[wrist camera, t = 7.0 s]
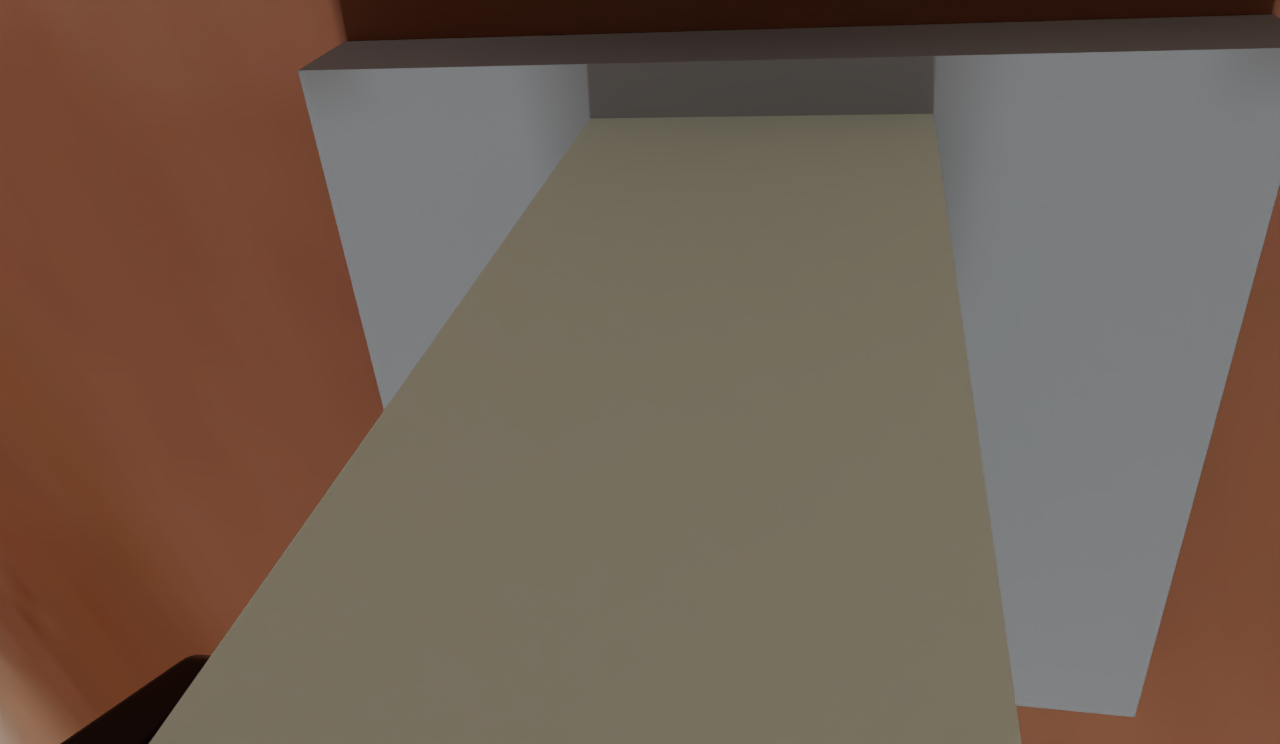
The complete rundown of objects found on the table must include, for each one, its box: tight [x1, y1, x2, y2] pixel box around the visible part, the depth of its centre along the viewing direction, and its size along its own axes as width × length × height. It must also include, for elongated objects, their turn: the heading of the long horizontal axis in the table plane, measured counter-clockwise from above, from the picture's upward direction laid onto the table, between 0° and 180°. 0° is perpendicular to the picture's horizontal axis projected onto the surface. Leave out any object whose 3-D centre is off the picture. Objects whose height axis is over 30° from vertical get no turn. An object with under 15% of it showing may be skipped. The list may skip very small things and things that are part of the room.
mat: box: [298, 14, 1280, 717], centre depth 13 cm, size 10×9×1 cm
